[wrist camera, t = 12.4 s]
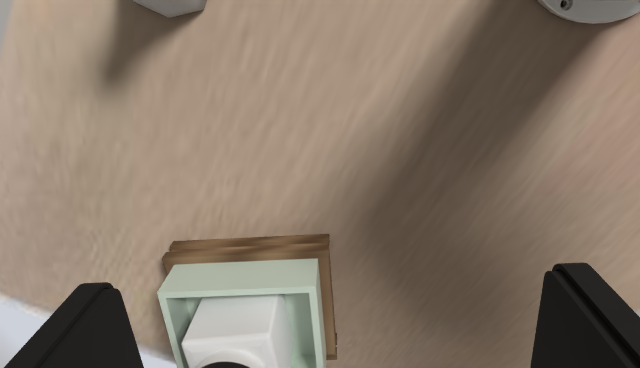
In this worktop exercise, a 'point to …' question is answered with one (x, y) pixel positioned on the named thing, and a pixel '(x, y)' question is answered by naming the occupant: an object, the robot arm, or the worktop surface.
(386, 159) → the worktop surface
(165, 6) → the flask
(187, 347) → the medicine bottle
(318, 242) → the brown wooden flat block
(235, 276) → the sage crate
